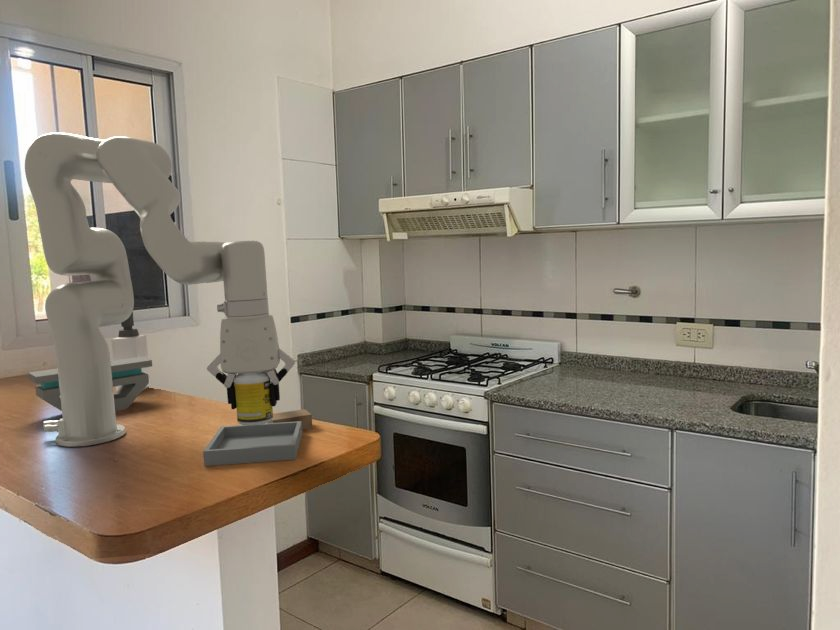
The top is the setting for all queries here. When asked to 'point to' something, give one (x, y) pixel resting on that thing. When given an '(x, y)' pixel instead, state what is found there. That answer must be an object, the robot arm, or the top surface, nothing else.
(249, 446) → the tray
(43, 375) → the sharpening stone
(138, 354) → the soap dispenser
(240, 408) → the pill bottle
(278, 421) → the walnut block
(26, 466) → the top surface
